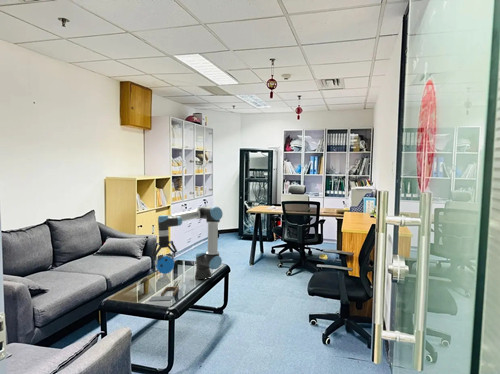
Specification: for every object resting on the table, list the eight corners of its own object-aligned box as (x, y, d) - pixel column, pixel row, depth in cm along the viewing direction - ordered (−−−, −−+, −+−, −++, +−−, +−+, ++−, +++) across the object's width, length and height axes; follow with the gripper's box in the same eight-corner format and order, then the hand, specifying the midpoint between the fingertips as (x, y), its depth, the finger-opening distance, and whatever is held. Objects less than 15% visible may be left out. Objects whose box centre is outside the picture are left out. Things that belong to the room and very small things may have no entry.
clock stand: (178, 289, 270) (178, 286, 270) (174, 296, 255) (173, 293, 255) (166, 289, 270) (166, 286, 270) (161, 296, 255) (160, 293, 255)
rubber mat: (173, 296, 254) (173, 295, 254) (170, 300, 246) (170, 299, 246) (152, 297, 254) (152, 296, 254) (148, 301, 246) (148, 300, 246)
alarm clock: (171, 270, 263) (171, 251, 263) (174, 272, 258) (174, 253, 258) (155, 273, 255) (154, 254, 255) (158, 275, 250) (157, 255, 250)
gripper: (149, 238, 246) (150, 266, 246) (180, 234, 260) (181, 261, 260) (146, 236, 252) (147, 264, 252) (177, 233, 266) (178, 259, 267)
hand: (164, 263), depth 256 cm, fingers closed on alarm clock, 13 cm apart
